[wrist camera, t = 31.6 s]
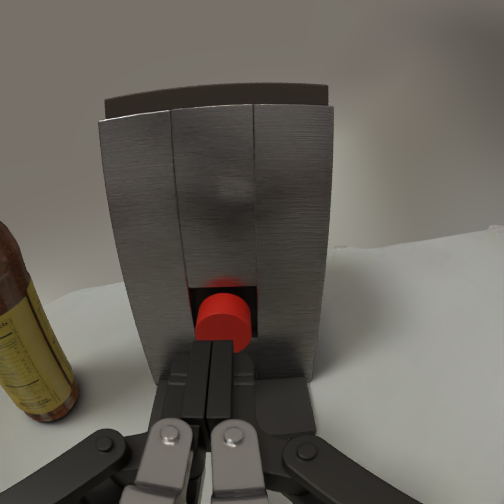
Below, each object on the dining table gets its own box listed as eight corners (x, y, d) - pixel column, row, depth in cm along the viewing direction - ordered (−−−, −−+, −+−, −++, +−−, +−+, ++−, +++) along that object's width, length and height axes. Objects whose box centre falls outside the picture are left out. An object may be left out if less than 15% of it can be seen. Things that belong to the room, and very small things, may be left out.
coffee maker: (322, 435, 17) (374, 73, 9) (143, 437, 17) (42, 100, 8) (289, 291, 34) (292, 95, 25) (179, 294, 33) (158, 102, 25)
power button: (252, 354, 18) (251, 312, 16) (198, 355, 18) (191, 313, 16) (251, 332, 20) (249, 291, 18) (201, 334, 19) (195, 293, 18)
